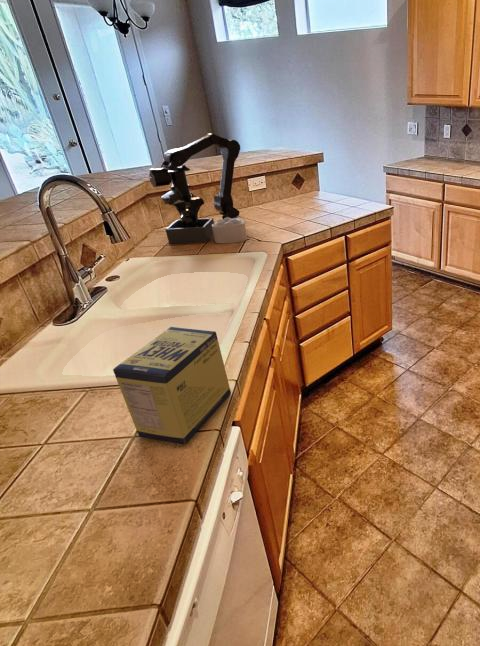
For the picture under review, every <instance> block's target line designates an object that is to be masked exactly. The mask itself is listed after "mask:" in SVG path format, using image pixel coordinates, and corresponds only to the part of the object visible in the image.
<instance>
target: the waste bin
mask: <svg viewBox="0 0 480 646" xmlns="http://www.w3.org/2000/svg"><path fill="white" fill-rule="evenodd" d="M198 219H199V223H200V226H201V227H190V228H183V225H182V222H181V219H175V220H174V221H173V222H172V223H171V224H170V225H168V226H167V227H166V228H165V229H164V230H165V233H166V238H167V241H168V244H169V245H183V244H199V243H200V244H201V243H209V241H210V240H211V239H212V238H213V237H214V234H213V229H212V224H214V223H215V221H214V217H204V218H198Z"/></svg>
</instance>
